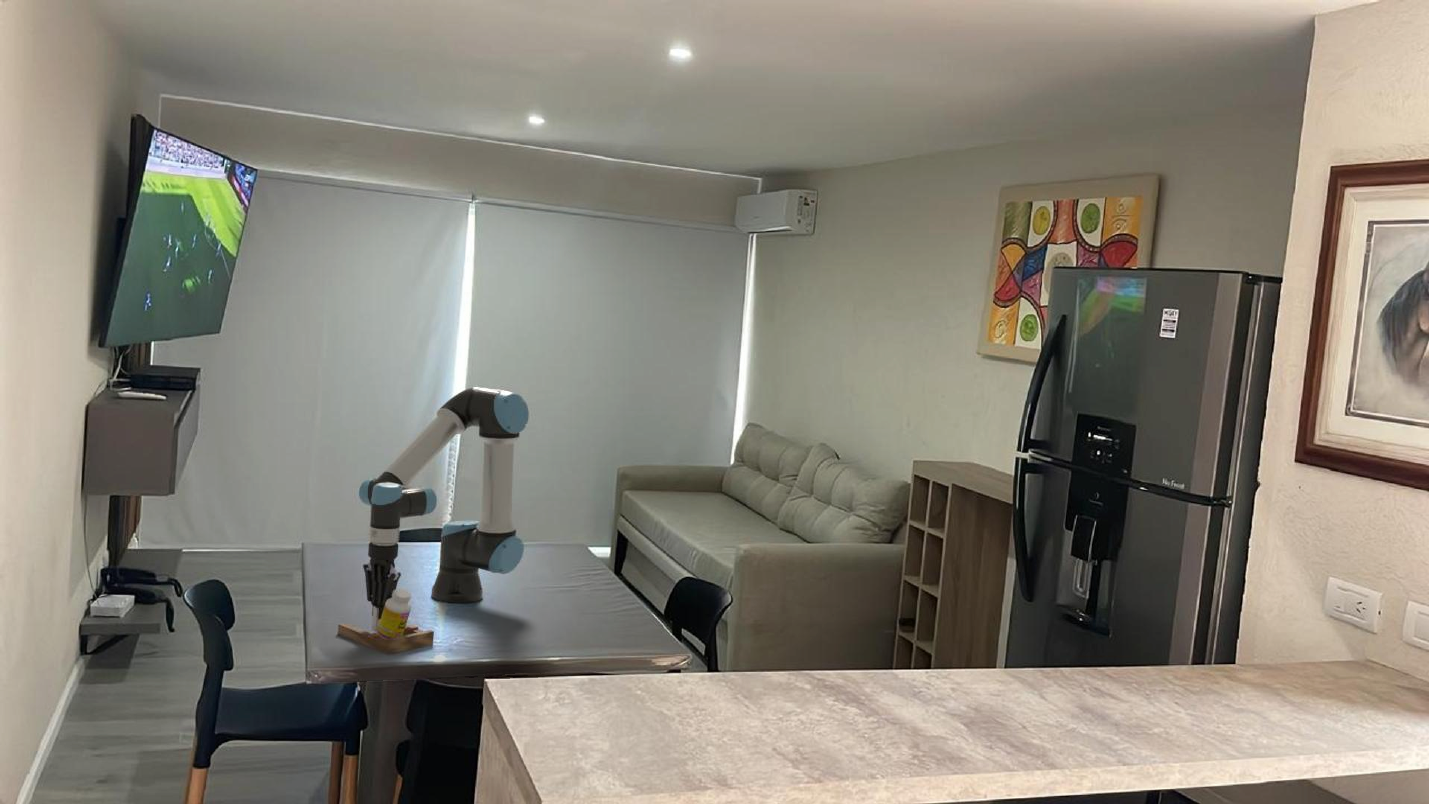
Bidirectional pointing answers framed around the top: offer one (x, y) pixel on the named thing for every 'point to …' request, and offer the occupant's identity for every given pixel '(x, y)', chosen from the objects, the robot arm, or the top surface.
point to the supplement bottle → (395, 615)
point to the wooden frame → (389, 646)
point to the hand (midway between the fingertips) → (377, 630)
